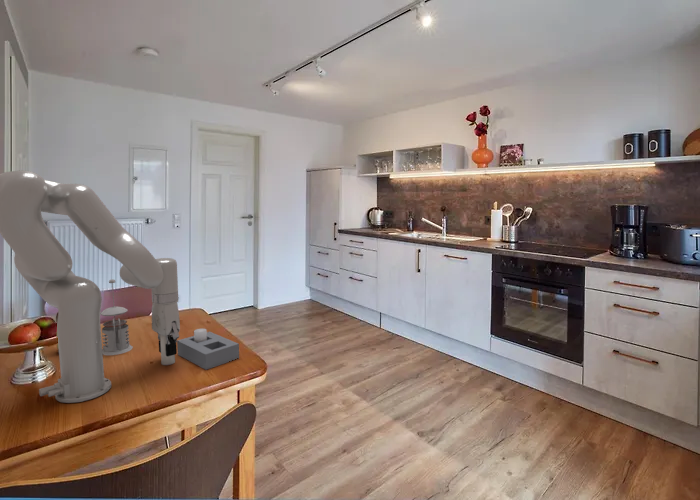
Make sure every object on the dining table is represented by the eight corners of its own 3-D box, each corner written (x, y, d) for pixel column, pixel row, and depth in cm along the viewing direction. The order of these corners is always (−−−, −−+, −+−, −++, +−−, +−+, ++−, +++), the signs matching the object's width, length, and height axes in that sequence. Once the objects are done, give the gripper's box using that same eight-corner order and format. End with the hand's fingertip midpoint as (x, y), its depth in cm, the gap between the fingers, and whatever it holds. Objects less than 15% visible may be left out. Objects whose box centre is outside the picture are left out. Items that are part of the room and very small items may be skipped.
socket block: (206, 369, 121) (205, 345, 120) (177, 354, 132) (176, 331, 131) (239, 358, 130) (238, 335, 129) (210, 344, 141) (209, 323, 140)
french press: (130, 342, 143) (126, 275, 139) (135, 352, 133) (131, 281, 130) (99, 348, 137) (93, 278, 134) (101, 359, 128) (96, 284, 124)
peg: (165, 366, 123) (163, 335, 122) (159, 362, 126) (157, 332, 124) (177, 362, 126) (176, 332, 125) (171, 358, 129) (170, 329, 127)
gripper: (141, 295, 126) (144, 349, 128) (165, 304, 115) (168, 364, 117) (164, 291, 131) (167, 343, 134) (190, 299, 121) (192, 356, 123)
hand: (167, 352), depth 125 cm, fingers closed on peg, 4 cm apart
